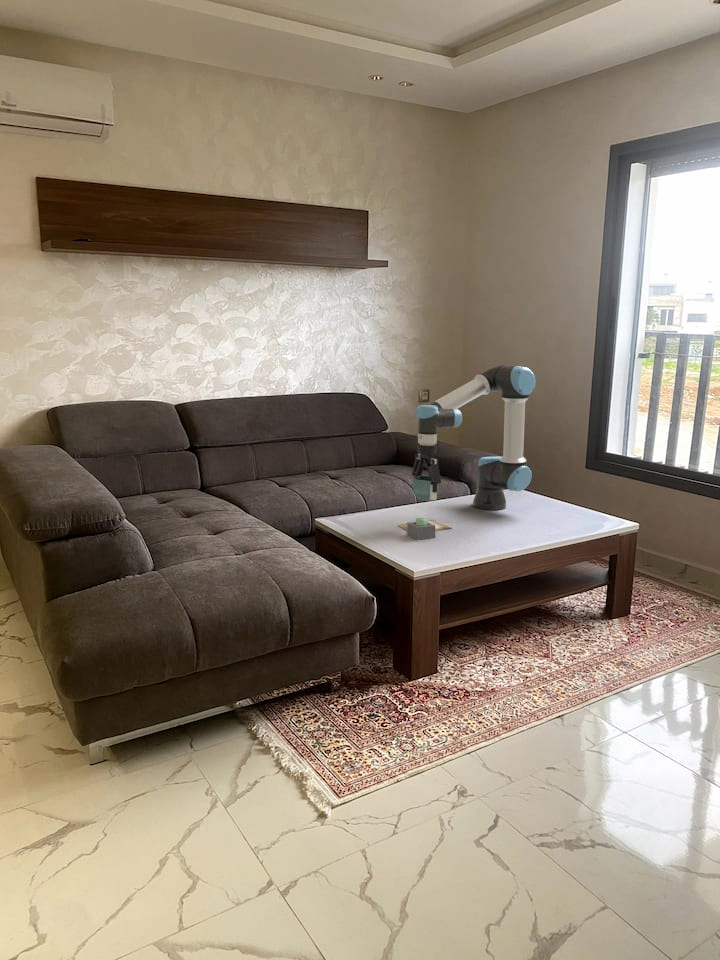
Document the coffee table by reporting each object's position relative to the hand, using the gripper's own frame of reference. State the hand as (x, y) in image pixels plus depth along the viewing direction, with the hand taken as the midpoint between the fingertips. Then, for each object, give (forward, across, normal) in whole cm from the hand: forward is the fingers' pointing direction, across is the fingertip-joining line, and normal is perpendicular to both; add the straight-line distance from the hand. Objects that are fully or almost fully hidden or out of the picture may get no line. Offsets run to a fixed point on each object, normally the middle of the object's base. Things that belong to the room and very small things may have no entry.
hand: (425, 496), depth 307 cm
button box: (+13, +10, -8) cm, 19 cm away
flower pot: (+1, 0, 0) cm, 1 cm away
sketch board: (+13, 0, 0) cm, 13 cm away
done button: (+11, +11, -8) cm, 17 cm away
